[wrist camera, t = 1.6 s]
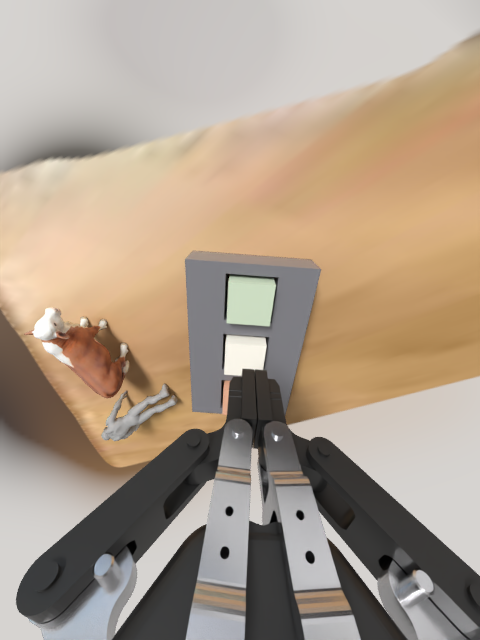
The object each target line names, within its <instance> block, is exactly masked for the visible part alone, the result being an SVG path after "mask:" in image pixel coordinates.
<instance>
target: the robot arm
mask: <svg viewBox="0 0 480 640" xmlns="http://www.w3.org/2000/svg"><path fill="white" fill-rule="evenodd" d="M252 447H253V448H257V449H258V455H259V457H258V472H259V480H260V489H261V498H262V507H263V508H262V509H263V512H262V522H263V525H259V524H256V523H254V522H251V521H249V510H250V490H251V475H250V469H251V449H252ZM212 479H215V480H214V486H213V492H212V497H211V503H210V509H209V514H208V520H207V524H206V525H204V526H201V527H200V528H198V529H197V530H195V531H194V532H193V533H192V534H191V535H190V536H189V537H188V538H187V539H186V540H185V541H184V542H183V544H182V545H181V546H180V548H179V549H178V550H177V552H176V553H175V554H174V556H173V557H172V558H171V560H170V561H169V562H168V564H167V565H166V567H165V568H164V569H163V571H162V572H161V573H160V575H159V576H158V578H157V579H156V580H155V581H154V583H153V584H152V586H151V587H150V588H149V590H148V591H147V592H146V594H145V595H144V596H143V598H142V599H141V600H140V602H139V603H138V605H137V606H136V607H135V609H134V610H133V611H132V613H131V614H130V616H129V617H128V618H127V620H126V621H125V623H124V624H123V625H122V626H121V628H120V629H119V630H118V632H117V633H116V635H115V628H116V624H117V621H118V618H119V616H120V613H121V611H122V609H123V607H124V606H125V605H126V603H127V601H128V600H129V598H130V597H131V595H132V593H133V590H134V588H135V584H136V579H137V568H136V562H137V561H138V560H139V559H140V558H141V557H142V556H143V554H144V553H145V552H146V551H147V550H148V549H149V548H150V546H151V545H152V544H153V543H154V542H155V541H156V540H157V538H158V537H159V536H160V535H161V534H162V533H163V532H164V530H165V529H166V528H167V527H168V526H169V525H170V524H171V522H172V521H173V520H174V519H175V518H176V517H177V516H178V514H179V513H180V512H181V511H182V510H183V509H184V508H185V506H186V505H187V504H188V503H189V502H190V501H191V499H192V498H193V497H194V496H195V495H196V494H197V493H198V491H199V490H200V489H201V488H202V487H203V486H204V485H205V483H206V482H207V481H209V480H212ZM318 510H319V511H318ZM319 512H320V513H321V514H322V515H323V516H324V518H325V519H326V520H327V521H328V522H329V524H330V525H331V526H332V527H333V528H334V530H335V531H336V532H337V533H338V534H339V535H340V537H341V538H342V539H343V540H344V541H345V543H346V544H347V545H348V546H349V547H350V548H351V550H352V551H353V552H354V553H355V555H356V556H357V557H358V558H359V559H360V561H361V562H362V563H363V564H364V565H365V566H366V568H367V569H368V570H369V571H370V572H371V574H372V575H373V576H374V577H375V578H376V580H377V581H378V590H379V595H380V598H381V600H382V603H383V605H384V608H385V609H386V610H385V609H384V608H383V607H382V605H381V604H380V603H379V601H378V600H377V599H376V598H375V596H374V595H373V593H372V592H371V591H370V590H369V588H368V587H367V586H366V584H365V583H364V582H363V580H362V579H361V578H360V577H359V575H358V574H357V573H356V572H355V570H354V569H353V567H352V566H351V565H350V563H349V562H348V561H347V560H346V558H345V557H344V556H343V554H342V553H341V552H340V551H339V549H338V548H337V547H336V546H335V545H334V544H333V543H332V542H331V541H330V540H329V539H328V538H327V537H326V535H325V531H324V528H323V524H322V521H321V518H320V514H319ZM16 604H17V608H18V610H19V612H20V613H21V614H22V615H24V616H26V617H27V618H28V619H29V621H30V622H31V623H33V624H34V625H36V626H38V627H39V628H41V631H42V635H43V638H44V640H480V576H479V575H478V574H477V573H476V572H474V570H473V569H471V568H470V567H469V566H468V565H467V564H466V563H465V562H464V561H462V560H461V559H460V558H459V557H458V556H457V555H456V554H455V553H454V552H453V551H451V550H450V549H449V548H448V547H447V546H446V545H445V544H444V543H443V542H441V541H440V540H439V539H438V538H437V537H436V536H435V535H434V534H433V533H432V532H430V531H429V530H428V529H427V528H426V527H425V526H424V525H423V524H422V523H421V522H419V521H418V520H417V519H416V518H415V517H414V516H413V515H412V514H410V513H409V512H408V511H407V510H406V509H405V508H404V507H403V506H402V505H401V504H399V503H398V502H397V501H396V500H395V499H394V498H393V497H392V496H390V494H388V493H387V492H386V491H385V490H384V489H383V488H382V487H381V486H379V485H378V484H377V483H376V482H375V481H374V480H373V479H371V477H370V476H368V475H367V474H366V473H365V472H364V471H363V470H362V469H361V468H360V467H359V466H357V465H356V464H355V463H354V462H353V461H352V460H351V459H350V458H348V457H347V456H346V455H345V454H344V453H343V452H342V451H341V450H340V449H339V448H338V447H336V446H335V445H334V444H333V443H332V442H331V441H329V440H327V439H325V438H323V437H315V438H313V439H311V441H309V440H307V439H304V438H301V437H299V436H297V435H295V434H294V433H292V431H291V430H290V429H289V428H288V426H287V424H286V419H285V414H284V408H283V403H282V397H281V392H280V386H279V384H278V383H277V382H276V380H275V379H268V376H267V370H258V369H255V370H254V369H243V368H242V377H234V376H233V378H232V380H231V381H230V383H229V396H228V408H227V419H226V423H225V424H224V426H223V427H222V428H221V429H219V430H217V431H215V432H211V433H208V434H206V433H205V432H204V431H202V430H200V429H191V430H188V431H186V432H185V433H184V434H182V435H181V436H180V437H179V438H178V439H177V440H175V441H174V442H173V443H172V444H171V445H170V446H168V447H167V448H166V449H165V450H164V451H163V452H161V453H160V454H159V455H158V456H157V457H156V458H154V459H153V460H152V461H151V462H150V463H149V464H148V465H146V466H145V467H144V468H143V469H142V470H140V471H139V472H138V473H137V474H136V475H135V476H134V477H133V478H131V479H130V480H129V481H128V482H126V483H125V484H124V485H123V486H122V487H121V488H120V489H118V490H117V491H116V492H115V493H114V494H112V495H111V496H110V497H109V498H108V499H107V500H105V501H104V502H103V503H102V504H101V505H100V506H99V507H97V508H96V509H95V510H94V511H93V512H92V513H90V514H89V515H88V516H87V517H86V518H84V519H83V520H82V521H81V522H80V523H79V524H77V525H76V526H75V527H74V528H73V529H72V530H71V531H69V532H68V533H67V534H66V535H65V536H63V537H62V538H61V539H60V540H59V541H58V542H57V543H55V544H54V545H53V546H52V547H51V548H50V549H48V550H47V551H46V552H45V553H44V554H42V555H41V556H40V557H39V558H38V559H37V560H36V561H35V562H34V563H33V564H32V566H31V567H30V568H29V569H28V571H27V573H26V574H25V575H24V577H23V579H22V581H21V583H20V586H19V589H18V592H17V597H16ZM386 611H387V612H388V613H389V614H388V613H387V612H386ZM389 615H390V616H391V617H390V616H389ZM392 619H393V620H392ZM114 635H115V636H114Z"/></svg>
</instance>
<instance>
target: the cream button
mask: <svg viewBox="0 0 480 640" xmlns="http://www.w3.org/2000/svg"><path fill="white" fill-rule="evenodd" d="M266 347H267V345H266V338H265V337H261V336H247V335H233V334H227V337H226V345H225V366H224V375H237V376H242V368H243V369H254V370H255V369H258V370H263V367H264V360H265V354H266Z"/></svg>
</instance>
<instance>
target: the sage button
mask: <svg viewBox="0 0 480 640" xmlns="http://www.w3.org/2000/svg"><path fill="white" fill-rule="evenodd" d="M275 288H276V284H275V281H274V278H273V277H266V276H252V275H239V274H230V277H229V281H228V301H227V323H229V324H243V325H257V326H270V321H271V314H272V308H273V301H274V295H275Z"/></svg>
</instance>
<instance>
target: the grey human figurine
mask: <svg viewBox="0 0 480 640" xmlns="http://www.w3.org/2000/svg"><path fill="white" fill-rule="evenodd" d="M168 390H169V388H168V387H167V385H166V384H163V386H162V390H160V392H159V393H160V394H157V395H155V396H153V397H152V396H147V398H146V399H145V400H143V401H142V402H140V403H138V404H136V405H135V406H134V407H132V408H131V409H130V410H129V411H128V414H127V415H125V416H124V417H119V418H116V415H117V413H118V410H120V408H121V403H122V399H124V398H125V397H127V396H125V394H126V393H127V391H125V392H124V393H122V394H121V396H120V399H119V400H118V401H117V402H116V403H115V405H114V407H113V411H112V412H111V414H110V416H109V417H108V418H107V420H106V426H107V425H108V428H107V427H105V429H104V431H103V433H102V438H103V439H104V440H109V439H110V438H111V439H112V440H113V441H118V440H121V439H125V438H127V437H128V436H130V435H131V434H132V433H133V432H134V431H136V430H137V429H138V428H139V426H140V424H141V423H143V422H145V421H146V420H147V419H149V418H150V417H151V416H152V415H153V414H154V413H156V412H158V413H159V412H162V411H164V410H165V409H167V408H169V407H170V406H173V405H175V404H177V401H178V400H177V398H176V396H175V395H173V396H171V399H170V400H168V402H166V403H164V404H162V405H156V406H155V407H153V408H150V409H147V410H146V411H144V412H142V413H141V414H140V412H141V411H143V410H144V409H145V408H146V407H147V406H148V404H154V403H156V402H157V401H158V400H161V399H162V398H164V397H168V396H170V394H169V392H168ZM115 418H116V419H115Z"/></svg>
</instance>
